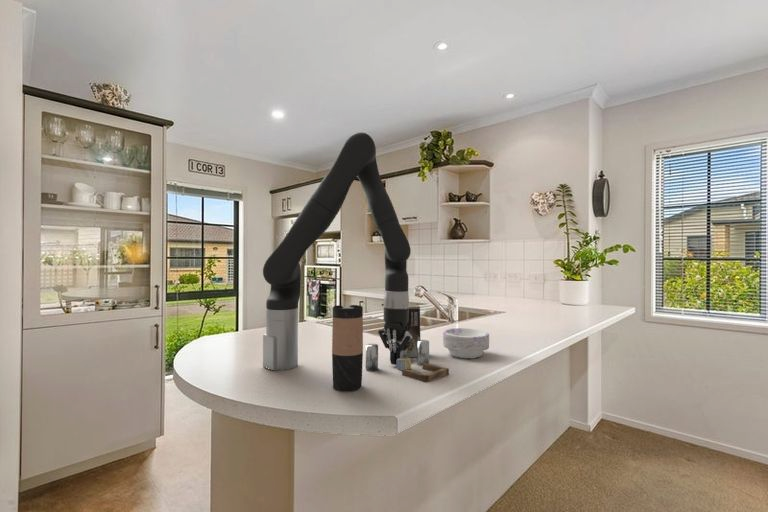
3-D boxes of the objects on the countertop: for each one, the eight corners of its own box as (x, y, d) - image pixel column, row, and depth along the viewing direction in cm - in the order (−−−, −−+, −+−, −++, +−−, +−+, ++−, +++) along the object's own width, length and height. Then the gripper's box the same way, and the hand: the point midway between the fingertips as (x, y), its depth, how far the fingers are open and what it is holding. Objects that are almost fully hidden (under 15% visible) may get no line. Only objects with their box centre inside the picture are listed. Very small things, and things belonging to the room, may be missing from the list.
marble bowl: (486, 363, 116) (486, 337, 117) (438, 358, 122) (438, 334, 122) (491, 352, 131) (491, 329, 131) (447, 348, 136) (447, 326, 136)
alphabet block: (396, 369, 109) (396, 358, 109) (402, 366, 112) (402, 356, 112) (404, 371, 107) (404, 360, 107) (411, 368, 110) (411, 358, 110)
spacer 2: (402, 361, 117) (402, 339, 117) (393, 359, 120) (393, 337, 120) (409, 359, 120) (409, 337, 120) (401, 357, 122) (401, 336, 122)
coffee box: (420, 353, 129) (420, 306, 129) (420, 357, 122) (420, 308, 123) (394, 352, 130) (394, 305, 130) (392, 357, 123) (392, 307, 124)
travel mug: (350, 394, 88) (350, 309, 89) (325, 388, 92) (325, 307, 93) (368, 385, 95) (369, 306, 95) (344, 380, 99) (345, 304, 99)
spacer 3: (424, 366, 112) (424, 342, 112) (414, 364, 115) (414, 341, 115) (431, 364, 115) (431, 341, 115) (422, 361, 117) (422, 339, 118)
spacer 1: (371, 371, 107) (371, 347, 107) (363, 369, 109) (363, 345, 109) (380, 369, 109) (380, 345, 109) (372, 366, 112) (372, 343, 112)
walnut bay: (426, 382, 98) (426, 376, 98) (402, 375, 104) (402, 369, 104) (448, 374, 105) (448, 368, 105) (424, 368, 111) (424, 362, 111)
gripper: (371, 304, 114) (370, 361, 114) (404, 309, 105) (403, 371, 105) (388, 303, 120) (387, 357, 119) (421, 307, 110) (420, 366, 110)
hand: (395, 364), depth 112 cm, fingers closed
